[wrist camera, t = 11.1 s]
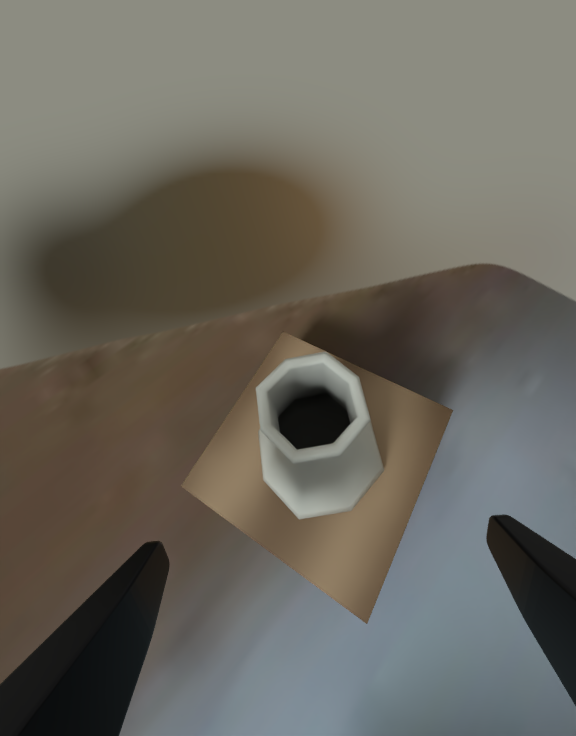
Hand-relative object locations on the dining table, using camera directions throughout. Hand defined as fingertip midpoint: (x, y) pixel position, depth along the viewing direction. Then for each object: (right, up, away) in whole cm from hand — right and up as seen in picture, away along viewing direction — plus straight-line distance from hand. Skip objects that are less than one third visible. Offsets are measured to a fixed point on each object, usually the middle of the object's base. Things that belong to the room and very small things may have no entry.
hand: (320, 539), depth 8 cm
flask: (+1, 0, +10) cm, 10 cm away
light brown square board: (+1, -2, +13) cm, 13 cm away
